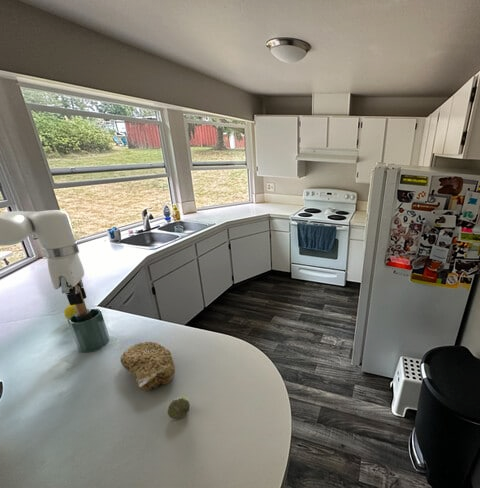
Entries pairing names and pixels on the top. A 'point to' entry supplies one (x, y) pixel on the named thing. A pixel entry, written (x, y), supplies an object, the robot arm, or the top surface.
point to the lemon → (70, 311)
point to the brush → (82, 310)
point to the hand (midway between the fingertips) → (78, 301)
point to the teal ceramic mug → (89, 332)
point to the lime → (178, 408)
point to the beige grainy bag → (149, 364)
